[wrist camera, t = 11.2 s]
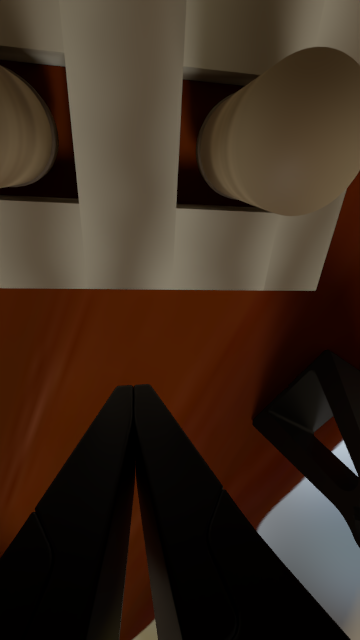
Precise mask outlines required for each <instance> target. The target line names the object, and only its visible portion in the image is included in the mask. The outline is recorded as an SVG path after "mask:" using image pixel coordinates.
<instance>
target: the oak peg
mask: <svg viewBox="0 0 360 640" xmlns="http://www.w3.org/2000/svg"><path fill="white" fill-rule="evenodd" d="M196 159H197V164H198V168H199V171H200V173H201V175H202V177H203V178H204V180H205V181H206V183H207V184H208V185H209V186H210V187H211V188H212V189H213V190H214V191H215V192H217V193H218V194H220V195H222V196H224V197H227V198H231V199H237V200H240V201H243V202H246V203H248V204H251V205H253V206H256V207H259V208H261V209H264V210H267V211H269V212H272V213H275V214H279V215H283V216H300V215H305V214H309V213H312V212H314V211H317V210H319V209H321V208H323V207H324V206H326V205H328V204H329V203H331V202H332V201H333V200H335V199H336V198H337V197H338V196H339V195H340V194H341V193H343V192H344V190H345V189H346V188H347V187H348V186H349V185H350V184H351V182H352V181H353V180H354V178H355V177H356V175H357V174H358V172H359V170H360V65H359V64H358V63H357V62H356V61H355V60H354V59H353V58H352V57H350V56H349V55H347V54H346V53H344V52H342V51H340V50H337V49H334V48H329V47H311V48H306V49H303V50H300V51H297V52H295V53H293V54H291V55H289V56H287V57H285V58H284V59H282V60H281V61H280V62H278V63H277V64H275V65H274V66H273V67H271V68H270V69H268V70H267V71H266V72H264V73H263V74H261V75H260V76H259V77H257V78H256V79H254V80H253V81H252V82H250V83H249V84H247V85H246V86H245V87H243V88H242V89H240V90H239V91H238V92H236V93H233V94H231V95H229V96H227V97H226V98H224V99H223V100H221V101H220V102H219V103H218V104H217V105H216V106H214V107H213V109H212V110H211V111H210V112H209V114H208V115H207V117H206V118H205V120H204V122H203V124H202V126H201V128H200V131H199V134H198V138H197V143H196Z"/></svg>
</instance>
